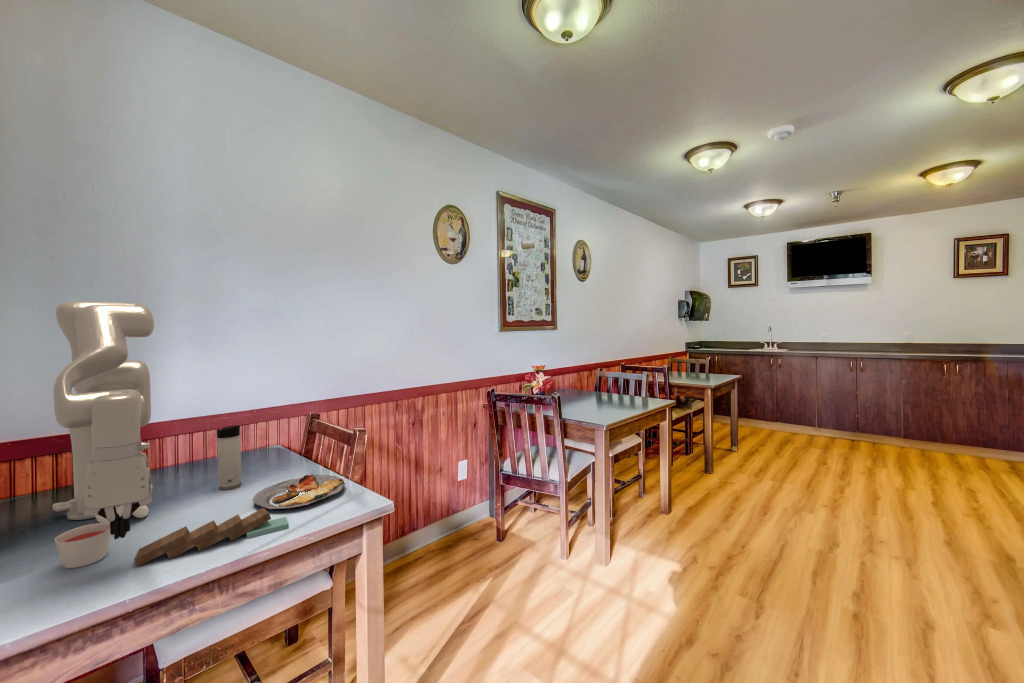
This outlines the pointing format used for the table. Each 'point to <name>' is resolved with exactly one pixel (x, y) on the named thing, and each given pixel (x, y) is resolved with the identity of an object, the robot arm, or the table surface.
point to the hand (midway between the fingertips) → (120, 535)
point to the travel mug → (229, 457)
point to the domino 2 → (195, 538)
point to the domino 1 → (161, 546)
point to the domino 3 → (223, 531)
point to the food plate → (295, 486)
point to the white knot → (138, 513)
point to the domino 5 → (269, 527)
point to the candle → (83, 545)
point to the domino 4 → (251, 523)
